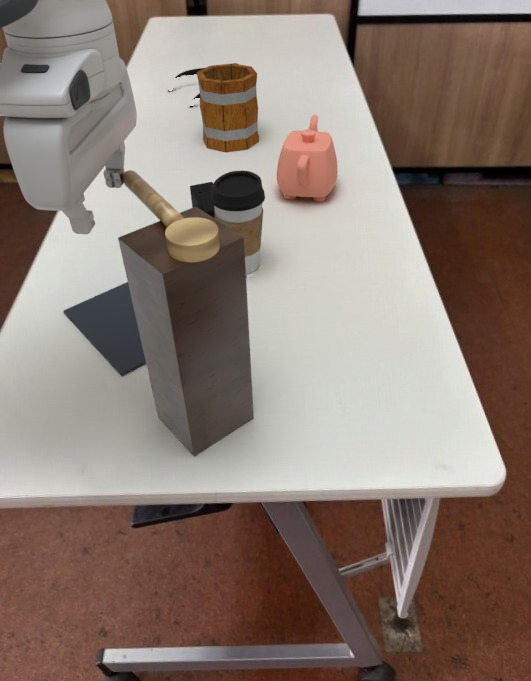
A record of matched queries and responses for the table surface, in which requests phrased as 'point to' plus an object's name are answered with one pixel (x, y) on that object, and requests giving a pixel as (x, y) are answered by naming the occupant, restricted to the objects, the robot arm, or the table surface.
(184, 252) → the spoon
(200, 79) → the wooden barrel
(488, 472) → the table surface
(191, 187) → the digital camera
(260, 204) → the coffee cup
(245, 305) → the stand
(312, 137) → the teapot
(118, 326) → the mat
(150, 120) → the table surface
